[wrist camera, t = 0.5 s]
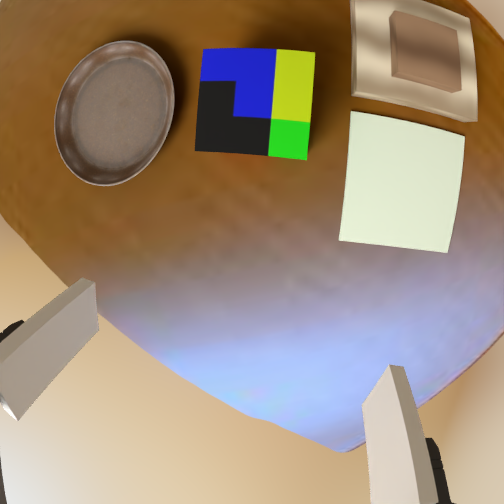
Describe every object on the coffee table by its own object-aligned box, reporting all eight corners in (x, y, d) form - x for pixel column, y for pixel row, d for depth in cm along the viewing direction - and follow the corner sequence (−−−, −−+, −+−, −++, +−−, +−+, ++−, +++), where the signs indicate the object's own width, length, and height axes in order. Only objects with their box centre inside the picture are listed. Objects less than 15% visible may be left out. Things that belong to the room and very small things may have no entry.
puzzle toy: (228, 72, 31) (203, 49, 22) (311, 77, 30) (315, 52, 21) (222, 149, 35) (194, 151, 25) (304, 156, 33) (306, 160, 24)
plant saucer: (193, 39, 30) (184, 31, 27) (175, 188, 38) (164, 192, 34) (77, 56, 32) (63, 53, 29) (65, 178, 40) (52, 182, 37)
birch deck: (349, -5, 24) (353, -17, 21) (458, 25, 22) (469, 18, 19) (351, 95, 30) (356, 90, 26) (463, 122, 28) (477, 121, 24)
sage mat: (350, 111, 30) (351, 111, 30) (463, 136, 28) (464, 136, 28) (338, 239, 36) (339, 240, 36) (446, 251, 34) (447, 252, 34)
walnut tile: (388, 18, 22) (394, 10, 20) (448, 36, 21) (456, 30, 19) (391, 76, 25) (398, 71, 23) (451, 93, 24) (461, 90, 22)
